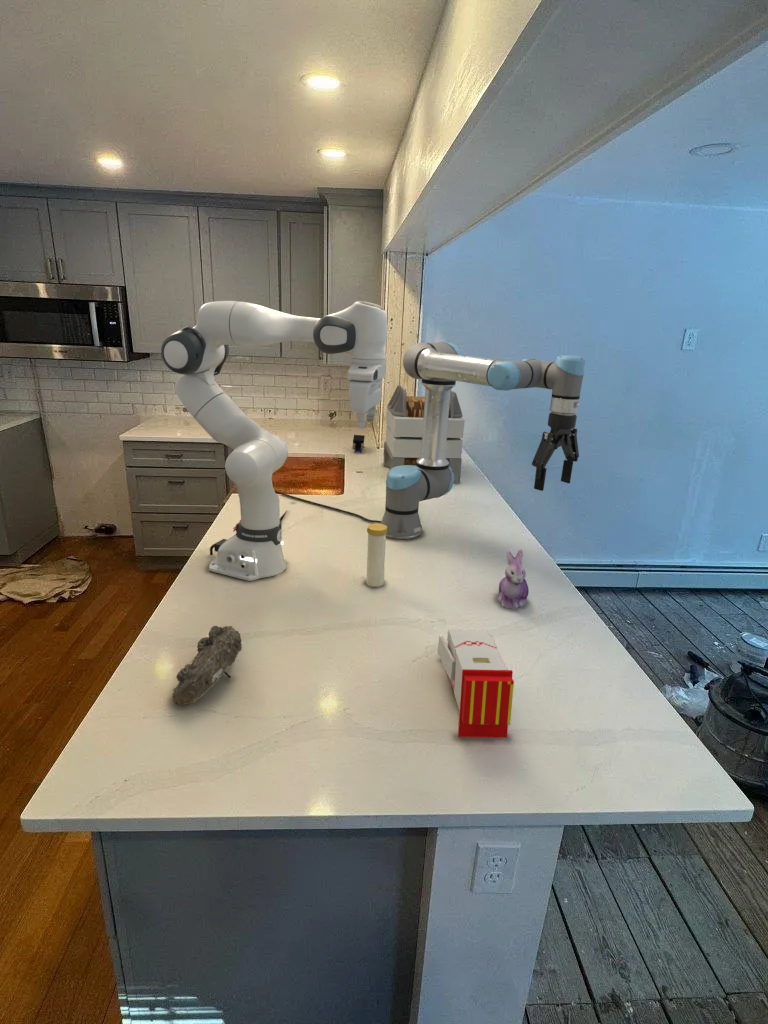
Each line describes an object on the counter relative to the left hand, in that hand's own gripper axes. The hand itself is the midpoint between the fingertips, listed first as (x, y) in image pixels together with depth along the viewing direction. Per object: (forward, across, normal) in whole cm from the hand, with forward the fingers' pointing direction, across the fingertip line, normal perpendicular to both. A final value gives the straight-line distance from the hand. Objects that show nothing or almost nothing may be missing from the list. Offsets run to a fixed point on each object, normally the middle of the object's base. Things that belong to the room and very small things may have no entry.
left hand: (366, 424), depth 147 cm
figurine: (+46, -1, +43) cm, 63 cm away
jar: (+46, -1, +4) cm, 46 cm away
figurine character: (+46, -154, -40) cm, 166 cm away
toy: (+46, +42, +34) cm, 71 cm away
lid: (+29, -1, +4) cm, 29 cm away
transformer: (+46, -121, -1) cm, 129 cm away
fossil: (+46, +51, -20) cm, 71 cm away
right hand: (+18, -23, +51) cm, 59 cm away
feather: (+46, -46, -41) cm, 77 cm away
